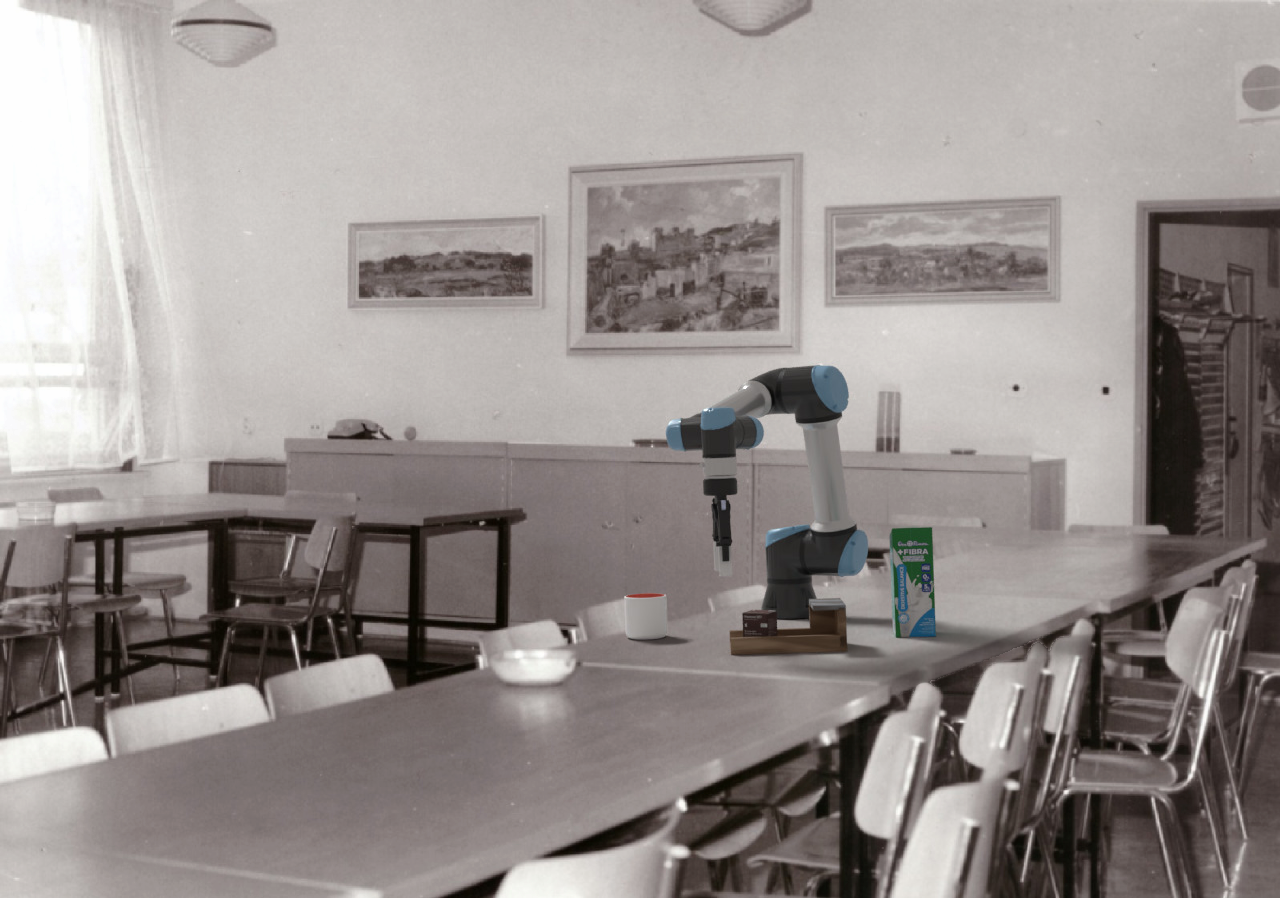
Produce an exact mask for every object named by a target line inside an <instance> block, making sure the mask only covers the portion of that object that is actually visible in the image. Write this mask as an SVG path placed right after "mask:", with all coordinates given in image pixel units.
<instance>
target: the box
mask: <svg viewBox="0 0 1280 898" xmlns="http://www.w3.org/2000/svg"><path fill="white" fill-rule="evenodd" d="M741 619H742V630H743V637H767V636H777V629H778V619H777V611H770V610H761V609H750V610H747V611H745V612H742V618H741Z"/></svg>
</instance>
